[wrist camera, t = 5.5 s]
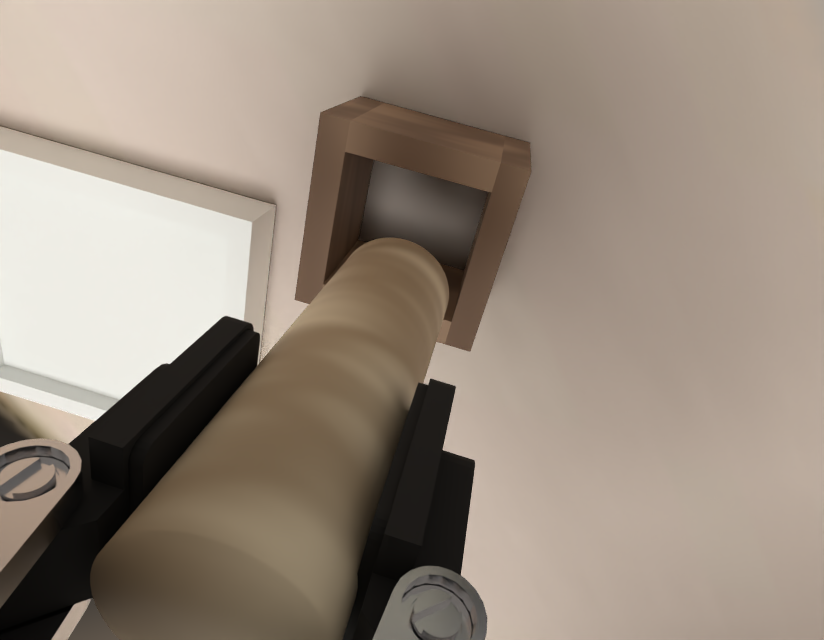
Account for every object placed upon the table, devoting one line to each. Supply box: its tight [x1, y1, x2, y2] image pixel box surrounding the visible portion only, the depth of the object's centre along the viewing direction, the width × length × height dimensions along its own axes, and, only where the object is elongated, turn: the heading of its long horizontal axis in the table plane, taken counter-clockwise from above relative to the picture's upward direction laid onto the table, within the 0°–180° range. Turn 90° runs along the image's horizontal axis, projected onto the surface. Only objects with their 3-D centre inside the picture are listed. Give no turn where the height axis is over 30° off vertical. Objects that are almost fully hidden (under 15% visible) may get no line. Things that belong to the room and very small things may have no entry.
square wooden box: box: [295, 96, 531, 351], centre depth 21 cm, size 7×7×5 cm
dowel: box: [90, 238, 449, 640], centre depth 12 cm, size 3×3×11 cm
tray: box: [0, 126, 276, 421], centre depth 27 cm, size 15×14×2 cm
